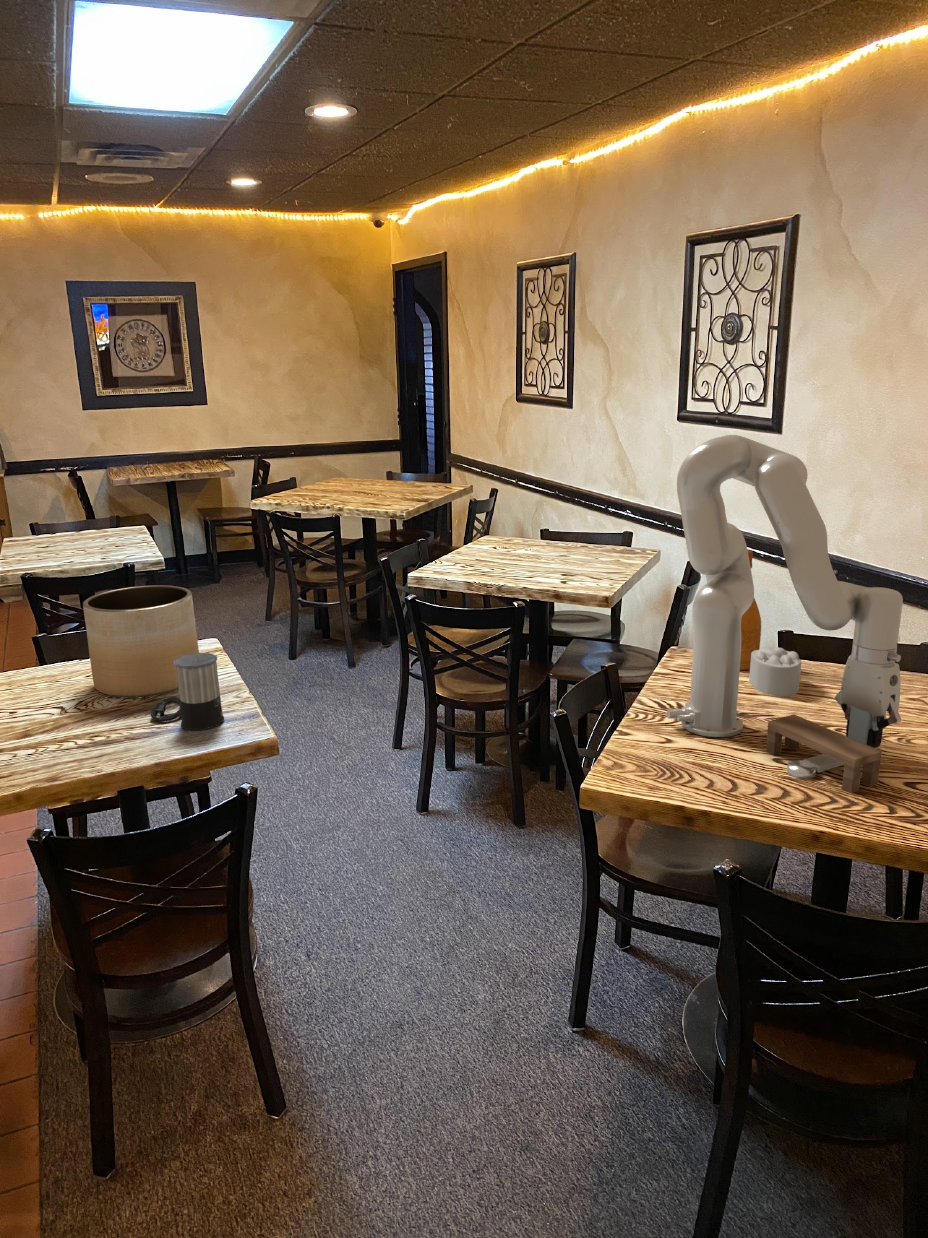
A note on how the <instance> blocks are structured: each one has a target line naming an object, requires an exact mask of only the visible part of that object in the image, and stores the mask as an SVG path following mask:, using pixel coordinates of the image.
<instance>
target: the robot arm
mask: <svg viewBox="0 0 928 1238" xmlns="http://www.w3.org/2000/svg"><path fill="white" fill-rule="evenodd" d="M808 477H809V476H808V469H807V467H806V465H805V464H804V462H803V461H802V460H801V459H800V458H799V457H798V456H795V454H794V455H793V454H791V453H789V452H786V451H782V450H779V449H777V448H774V447H771V446H768V445H766V444H764V443H761V442H758V441H755V440H754V439H753V440H752V438H751V439H750V438H747V437H745V436H741V435H737V434H725V435H723V436H718V437H714V438H710V439H709V440H706V441H704V442H703V443H701V444H700V445H698V446H697V447H695V448H694V449H693V450H692V451H691V452H689V453H688V455H687V456H686V457H685V458H684V459H683V461H682V462H681V465H680V467H679V470H678V472H677V477H676V492H677V497H678V498H677V499H678V503H679V504H678V505H679V511H680V513H681V515H680V516H681V520H682V529H683V533H684V539H685V544H686V550H687V556H688V561H689V563H690V565H691V566H692V568H693V569H694V570H695V571H696V572H697V573H698V574H702V575H704V576H705V578H706V583H705V584H704V585H703V586H702V587H701V588H700V589H699V591H698V592H697V593H696V595H695V597H694V600H693V603H692V608H691V609H692V610H691V611H692V614H691V615H692V629H693V631H692V632H693V635H692V637H693V639H692V640H693V641H692V642H693V643H692V661H691V663H692V664H691V677H690V679H691V682H690V696H689V699H690V700H689V702H685V706H681V708H679V709H678V708H675V709H673V708H671V709H667V710H666V716H667V719H671V720H672V719H676V720H677V722H678V723H679V722H681V725H682V727H683V728H684V729H685V730H686V731H688V732H690V733H692V734H696V735H699V736H702V737H703V736H704V737H709V738H729V737H734V736H737V735H739V734H740V733H742V731H743V730H744V721H742V719H741V718H740V717H738V716H737V714H738V713H737V712H738V698H739V697H738V696H739V685H740V683H739V682H740V671H741V670H740V659H741V658H740V656H741V618H742V615H743V614H744V613H745V612H746V611H747V610H748V609H749V607H750V606H751V604H752V602H753V599H754V598H755V585H754V580H753V574H752V568H751V567H750V562H749V556H748V551H747V549H748V546H747V542H746V540H745V537H744V535H743V533H742V532H741V530H740V529H739V528H738V527H737V526H736V525H734V524H732V523H730V522H728V520H727V515H726V505H725V502H724V499H723V497H722V494H721V493H722V492H721V486H722V484H723V483H724V482H726V481H728V480H730V479H734V480H736V481H739V482H742V483H745V484H747V485H750V486H752V487H754V490H755V492H756V495H757V497H758V498H759V501H760V503H761V505H762V507H763V509H764V511H765V513H766V516H767V517H768V520H769V522H770V524H771V526H772V528H773V530H774V533H775V535H776V537H777V539H778V541H779V544H780V545H781V548H782V553H783V557H784V560H785V562H786V566H787V570H788V573H789V576H790V578H791V582H792V584H793V588H794V590H795V592H796V595H797V596H798V598H799V600H800V603H801V605H802V607H803V609H804V611H805V613H806V615H807V616H808V619H809V620H810V621H811V622H812V623H813V625H815V626H816V627H817V628H819V629H821V630H825V631H829V632H831V631H837V630H840V629H842V628H844V627H846V625H847V624H848V623H849V622H850V621H851V620H852V621H854V628H853V629H854V631H853V640H852V649H851V654H850V655H848V658H847V661H846V663H845V666H844V669H843V675H842V679H841V685H840V690H839V691H838V692H837V694H835V696H834V700H835V701H836V702H837V704H838V705H839V706H840V708H841V710H842V712H843V713H844V719H845V720H846V727H845V729H846V730H845V736H847V737H848V729H849V720H850V712H851V706H853V707H855V708H858V709H860V710H863V711H866V712H868V713H870V714H871V725H872V729H869V732H868V740H867V745H868V746H871V747H873V748H876V747H878V748H879V747H880V746H881V744H882V740H883V731H884V729H886V728H887V727H889V726H890V725H893V724H896V723H899V722H901V721H902V718H901V717H902V716H901V714H900V712H899V709H900V703H901V702H900V701H901V670H900V665H899V663H900V661H901V659H902V656H901V655H900V654H898V653H897V651H898V643H899V642H898V641H899V633H900V627H901V617H902V610H903V604H904V603H903V601H904V598H903V595H902V594H901V593H900V591H898V590H895V589H891V588H888V587H879V586H878V587H876V586H874V587H868V586H864V585H859V584H854V583H851V582H846V581H841V580H838V579H837V576H836V574H835V571H834V569H833V566H832V563H831V559H830V555H829V548H828V531H827V528H826V525H825V522H824V520H823V517H822V516H821V514H820V512H819V510H818V508H817V506H816V503H815V501H814V499H813V497H812V495H811V493H810V491H809V488H808V486H807V481H808ZM896 662H897V663H896ZM887 712H888V713H887ZM887 714H888V715H889V717H887ZM878 717H879V719H878Z"/></svg>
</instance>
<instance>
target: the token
mask: <svg viewBox="0 0 928 1238" xmlns="http://www.w3.org/2000/svg"><path fill="white" fill-rule="evenodd" d="M786 766H787V768H786V773H787V774H788V775H789V776H790V777H793V778H796V779H798V780H799V779H800V780H811V779H814V778H815V777H816V774H817V772H816V766H815V765H814V764H812V763H810V762H807V761H804V760H803V759H802V760H800V759H799V760H798V759H796V760H790V761H788V762H787V765H786Z"/></svg>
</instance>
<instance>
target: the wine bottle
mask: <svg viewBox="0 0 928 1238" xmlns="http://www.w3.org/2000/svg"><path fill="white" fill-rule="evenodd" d="M747 551H748V556H749V562H750V567H751V569H752V568H753V559H754V558H753V557H754V553H753V551H752V550H751V549H748V548H747ZM761 618H762V617H761V614H760V610H759V605H758V604H757V601H756V598H755V597H754V599H753V602H752V604H751V606H750V607H749V609H748V610H747V611H746V612H745V613H744V614H743V615H742V618H741V656H740V658H741V659H740V671H748V670H749V671H750V663H751V653H752V652H753V651H755V650H759V649H761V647H760V646H761V636H762V619H761Z"/></svg>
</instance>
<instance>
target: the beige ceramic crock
mask: <svg viewBox="0 0 928 1238" xmlns="http://www.w3.org/2000/svg"><path fill="white" fill-rule="evenodd" d="M82 608H83V615H84V621H85V622H84V623H85V629H86V638H87V644H88V645H87V646H88V653H89V654H88V655H89V662H90V669H91V676H92V682H93V686H94V688H95V689H96V690H97V691H99V692H100V693H102V694H104V695H108V696H110V697H114V698H121V697H123V699H136V698H138V697H141V698H150V697H157V696H161V694H162V695H165V693H166V694H170V693H172V692H176V691H179V690H178V681H177V673H176V665H174V661H175V659H177V658H179V657H181V656H184V655H188V654H194V653H200V650H199V645H198V644H199V641H198V640H199V639H198V636H197V635H198V634H197V624H196V619H195V618H196V617H195V611H194V602H193V593H192V591H191V590H189V589H188V588H186V587H181V586H174V585H139V586H137V585H136V586H131V587H130V586H129V587H123V588H118V589H113V590H107V591H104V592H101V593H98V594H95V595H92V596H89V597H88V598H87V599H85V600H84V601H83V602H82ZM149 696H150V697H149ZM138 699H139V698H138Z"/></svg>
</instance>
